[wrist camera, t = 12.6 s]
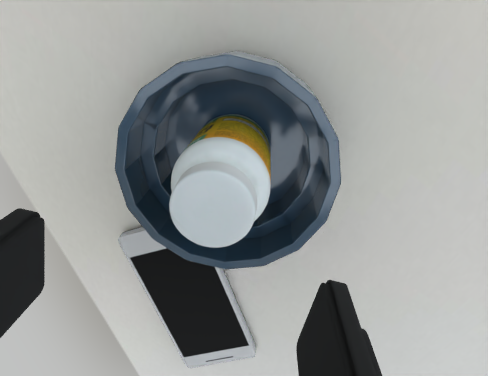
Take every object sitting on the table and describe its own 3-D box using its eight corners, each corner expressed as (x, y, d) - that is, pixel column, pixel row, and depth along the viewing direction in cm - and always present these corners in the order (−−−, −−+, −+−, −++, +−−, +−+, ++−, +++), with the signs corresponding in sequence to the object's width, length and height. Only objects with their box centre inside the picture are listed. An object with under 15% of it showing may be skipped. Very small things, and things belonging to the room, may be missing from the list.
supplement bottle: (251, 196, 26) (239, 277, 17) (185, 166, 25) (138, 234, 16) (284, 132, 24) (291, 188, 15) (213, 98, 23) (177, 135, 14)
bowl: (141, 201, 28) (108, 241, 22) (162, 30, 22) (126, 27, 17) (295, 238, 28) (300, 288, 22) (351, 78, 23) (376, 92, 17)
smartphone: (198, 211, 27) (195, 217, 26) (257, 349, 33) (257, 357, 32) (120, 232, 29) (115, 238, 28) (189, 361, 34) (187, 369, 33)
